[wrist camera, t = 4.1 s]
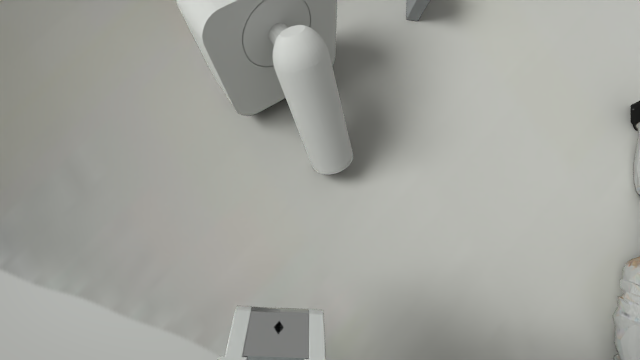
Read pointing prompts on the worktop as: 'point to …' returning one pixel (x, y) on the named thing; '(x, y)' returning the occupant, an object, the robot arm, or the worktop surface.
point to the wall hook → (277, 65)
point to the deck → (415, 9)
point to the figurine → (630, 281)
